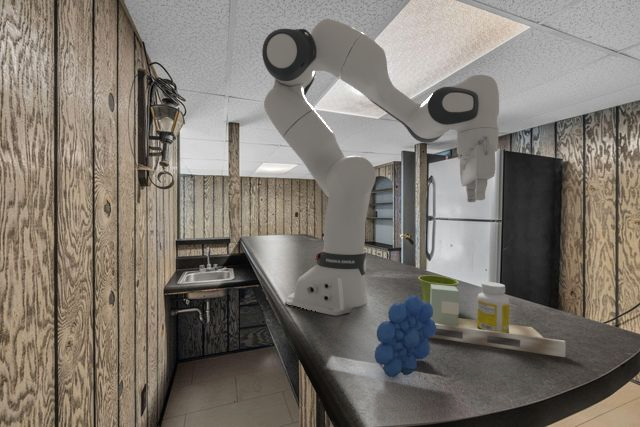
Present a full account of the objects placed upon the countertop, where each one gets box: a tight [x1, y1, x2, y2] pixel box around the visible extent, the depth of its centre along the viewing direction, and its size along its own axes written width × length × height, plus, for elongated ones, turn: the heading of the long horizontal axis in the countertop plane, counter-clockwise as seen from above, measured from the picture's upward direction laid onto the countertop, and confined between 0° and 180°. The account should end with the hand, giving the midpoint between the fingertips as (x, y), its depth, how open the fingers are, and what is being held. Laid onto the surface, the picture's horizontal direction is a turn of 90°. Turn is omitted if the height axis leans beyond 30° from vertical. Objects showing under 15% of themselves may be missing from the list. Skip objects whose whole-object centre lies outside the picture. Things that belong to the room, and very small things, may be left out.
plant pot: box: [418, 274, 460, 303], centre depth 70 cm, size 9×9×9 cm
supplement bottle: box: [476, 281, 510, 333], centre depth 55 cm, size 5×5×10 cm
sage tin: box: [430, 284, 460, 326], centre depth 58 cm, size 4×5×8 cm
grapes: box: [374, 295, 436, 378], centre depth 44 cm, size 12×7×12 cm, turn 116°
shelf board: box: [431, 317, 567, 358], centre depth 56 cm, size 22×13×4 cm, turn 72°
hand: (475, 201), depth 68 cm, fingers open, 8 cm apart
